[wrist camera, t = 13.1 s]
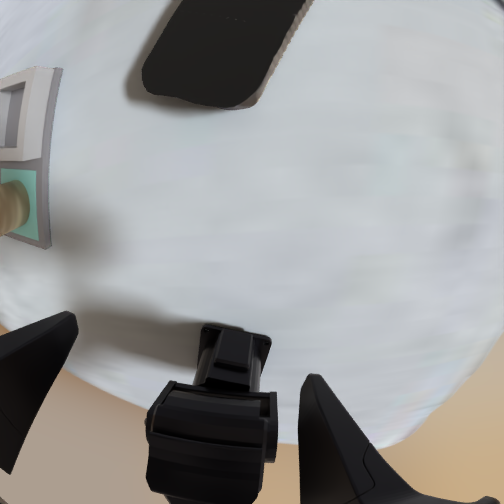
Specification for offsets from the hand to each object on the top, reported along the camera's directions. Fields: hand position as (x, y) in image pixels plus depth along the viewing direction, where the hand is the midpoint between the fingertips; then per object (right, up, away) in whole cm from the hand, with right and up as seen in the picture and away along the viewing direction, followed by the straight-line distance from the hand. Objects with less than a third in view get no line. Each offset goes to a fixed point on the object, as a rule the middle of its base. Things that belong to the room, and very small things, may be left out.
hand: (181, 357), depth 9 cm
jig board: (-21, +13, +10) cm, 27 cm away
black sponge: (+2, +21, +6) cm, 22 cm away
